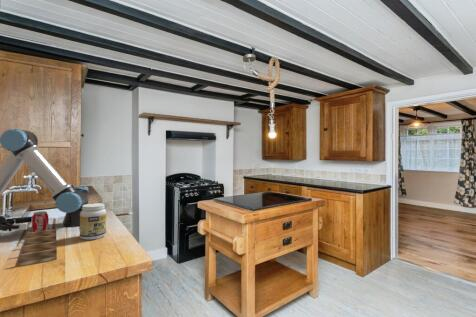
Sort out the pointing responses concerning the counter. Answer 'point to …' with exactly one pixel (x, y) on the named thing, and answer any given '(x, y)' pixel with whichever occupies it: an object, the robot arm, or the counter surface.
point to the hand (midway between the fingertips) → (36, 223)
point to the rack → (39, 247)
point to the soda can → (40, 221)
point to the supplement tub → (92, 221)
